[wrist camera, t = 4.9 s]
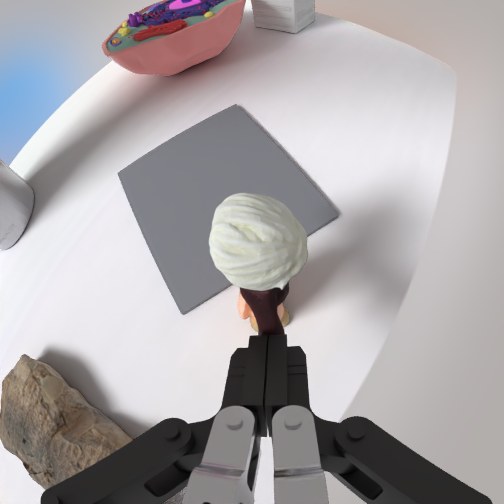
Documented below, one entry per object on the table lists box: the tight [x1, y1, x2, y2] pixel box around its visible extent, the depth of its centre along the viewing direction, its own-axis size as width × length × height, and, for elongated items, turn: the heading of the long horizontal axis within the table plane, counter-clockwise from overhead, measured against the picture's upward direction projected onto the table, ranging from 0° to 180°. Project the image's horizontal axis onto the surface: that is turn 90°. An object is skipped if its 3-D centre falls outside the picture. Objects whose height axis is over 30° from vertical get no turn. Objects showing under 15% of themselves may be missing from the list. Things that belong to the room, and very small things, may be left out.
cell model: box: [102, 0, 246, 76], centre depth 28 cm, size 17×20×11 cm
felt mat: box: [118, 104, 338, 315], centre depth 24 cm, size 16×14×1 cm
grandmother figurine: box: [209, 193, 308, 342], centre depth 14 cm, size 8×4×13 cm, turn 15°
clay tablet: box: [0, 354, 133, 490], centre depth 15 cm, size 14×5×20 cm
